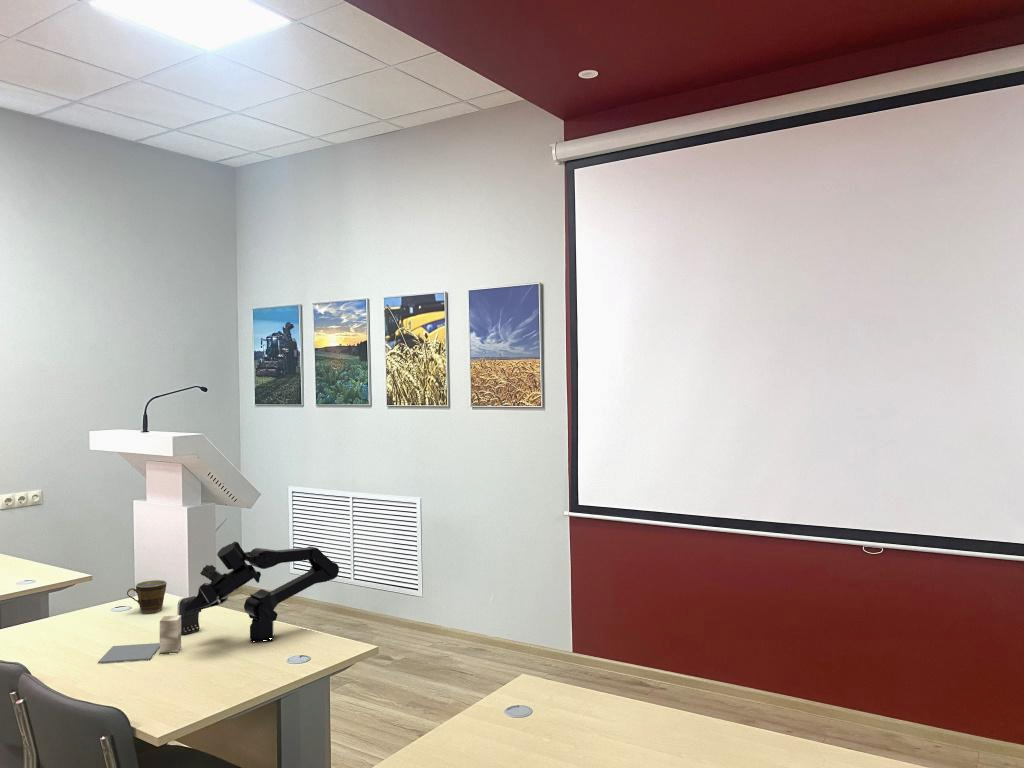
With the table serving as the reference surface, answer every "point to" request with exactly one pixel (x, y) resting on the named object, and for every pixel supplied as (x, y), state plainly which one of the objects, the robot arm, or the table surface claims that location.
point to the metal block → (170, 634)
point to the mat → (130, 653)
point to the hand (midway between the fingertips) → (189, 610)
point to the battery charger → (188, 616)
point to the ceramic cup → (150, 596)
